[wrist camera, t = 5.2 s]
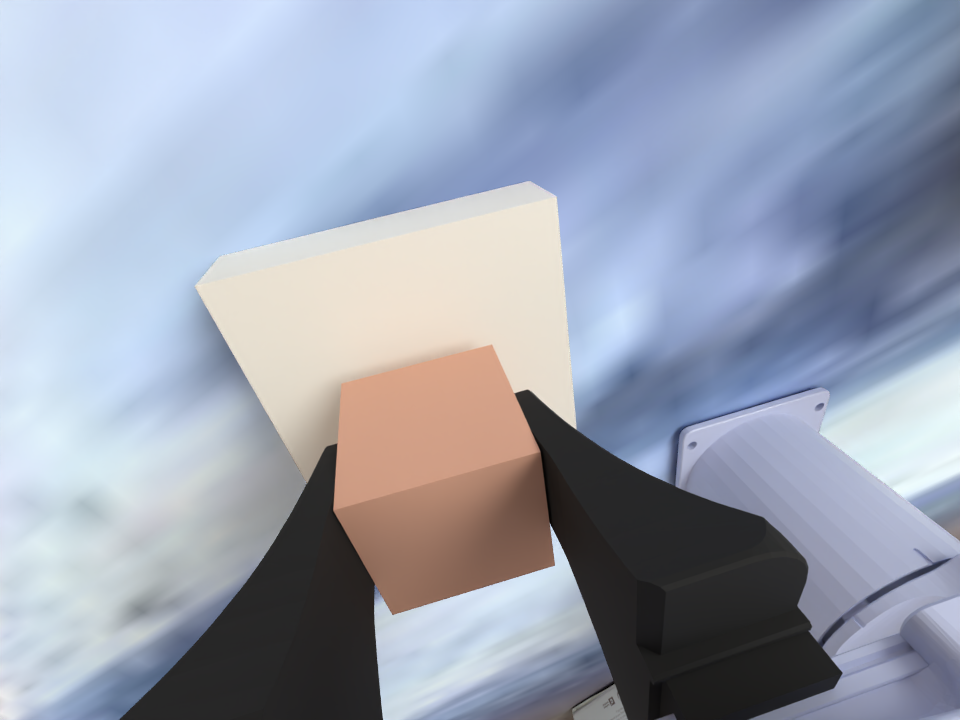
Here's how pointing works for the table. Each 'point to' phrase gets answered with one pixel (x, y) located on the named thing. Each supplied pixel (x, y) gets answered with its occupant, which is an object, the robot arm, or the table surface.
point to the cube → (440, 479)
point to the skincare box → (601, 707)
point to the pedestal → (396, 306)
